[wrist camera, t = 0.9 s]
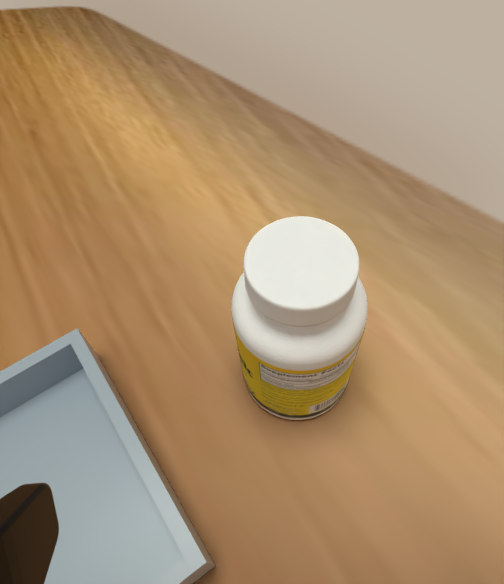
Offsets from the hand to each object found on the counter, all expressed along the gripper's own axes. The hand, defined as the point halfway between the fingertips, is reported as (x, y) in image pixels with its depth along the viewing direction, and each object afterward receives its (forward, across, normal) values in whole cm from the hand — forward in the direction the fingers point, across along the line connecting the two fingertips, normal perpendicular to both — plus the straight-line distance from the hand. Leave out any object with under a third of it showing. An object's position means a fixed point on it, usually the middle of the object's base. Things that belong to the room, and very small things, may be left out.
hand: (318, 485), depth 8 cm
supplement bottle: (+16, -1, +5) cm, 17 cm away
